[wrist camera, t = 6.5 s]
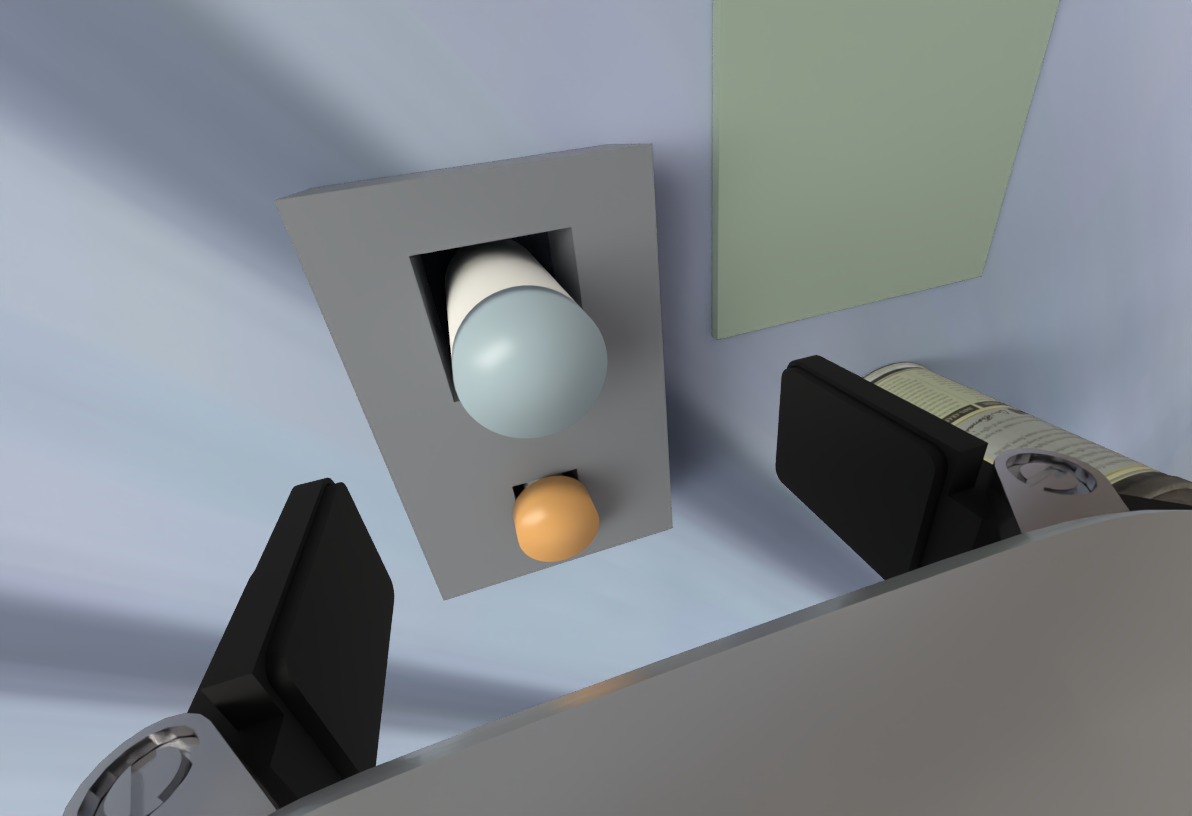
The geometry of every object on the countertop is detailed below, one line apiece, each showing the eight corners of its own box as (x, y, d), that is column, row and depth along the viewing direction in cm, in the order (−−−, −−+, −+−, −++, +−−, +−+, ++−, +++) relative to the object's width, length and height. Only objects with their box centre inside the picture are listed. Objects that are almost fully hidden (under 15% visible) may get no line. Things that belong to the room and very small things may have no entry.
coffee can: (931, 453, 37) (1163, 595, 26) (816, 507, 36) (1002, 681, 25) (945, 336, 32) (1248, 448, 20) (810, 396, 31) (1046, 550, 19)
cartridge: (432, 245, 21) (432, 313, 12) (532, 227, 21) (598, 279, 13) (459, 341, 23) (475, 454, 14) (549, 321, 24) (614, 418, 15)
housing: (310, 188, 18) (273, 200, 14) (607, 144, 21) (652, 143, 16) (441, 531, 27) (443, 600, 23) (638, 474, 30) (672, 527, 26)
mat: (713, -122, 18) (721, -130, 17) (1084, -136, 21) (1100, -143, 21) (712, 336, 27) (717, 339, 26) (972, 274, 30) (981, 276, 30)
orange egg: (493, 436, 25) (509, 510, 20) (561, 418, 25) (594, 486, 20) (508, 490, 26) (526, 571, 21) (571, 472, 27) (603, 547, 22)
